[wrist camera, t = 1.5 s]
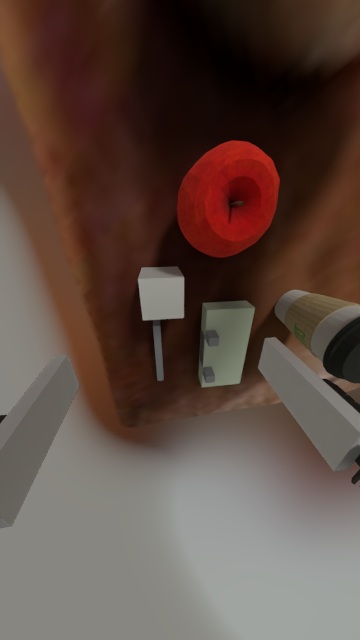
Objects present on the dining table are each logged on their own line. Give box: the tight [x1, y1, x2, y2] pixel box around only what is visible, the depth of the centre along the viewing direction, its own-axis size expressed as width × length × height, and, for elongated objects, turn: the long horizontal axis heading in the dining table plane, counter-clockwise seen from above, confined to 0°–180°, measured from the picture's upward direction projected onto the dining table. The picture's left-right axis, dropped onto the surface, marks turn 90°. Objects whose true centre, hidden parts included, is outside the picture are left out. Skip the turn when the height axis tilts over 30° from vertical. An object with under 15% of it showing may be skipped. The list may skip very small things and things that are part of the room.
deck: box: [153, 301, 255, 387], centre depth 32 cm, size 17×17×6 cm
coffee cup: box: [275, 290, 360, 383], centre depth 27 cm, size 10×10×15 cm
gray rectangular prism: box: [138, 267, 184, 320], centre depth 26 cm, size 6×6×7 cm
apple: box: [177, 140, 280, 258], centre depth 19 cm, size 10×10×12 cm
